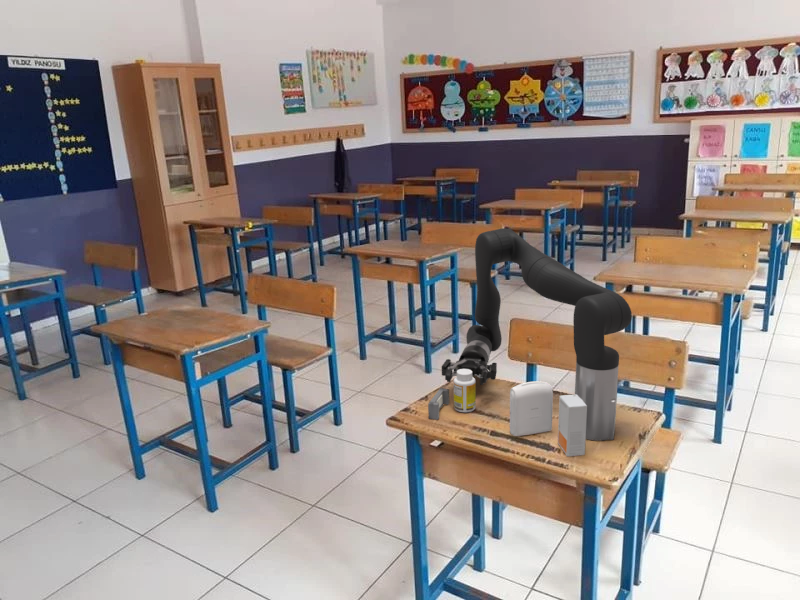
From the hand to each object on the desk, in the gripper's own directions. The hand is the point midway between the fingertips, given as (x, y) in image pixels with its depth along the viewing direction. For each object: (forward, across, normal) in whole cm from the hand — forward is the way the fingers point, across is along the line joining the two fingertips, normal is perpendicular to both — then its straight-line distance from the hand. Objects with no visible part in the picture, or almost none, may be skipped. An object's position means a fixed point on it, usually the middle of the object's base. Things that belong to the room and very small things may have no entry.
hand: (464, 380), depth 160 cm
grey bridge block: (+3, -7, +8) cm, 11 cm away
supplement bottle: (+1, 0, +8) cm, 8 cm away
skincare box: (+16, +27, +8) cm, 32 cm away
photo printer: (+10, +17, +8) cm, 21 cm away
